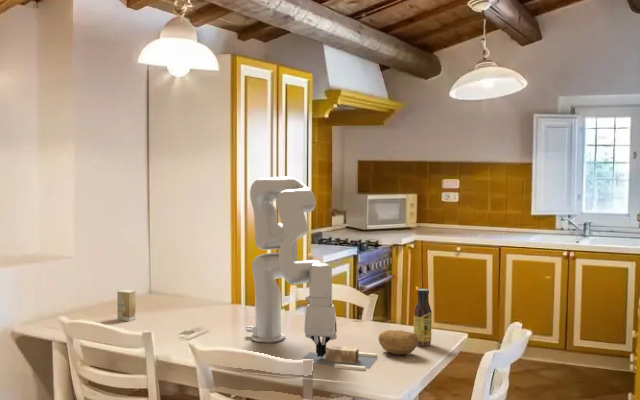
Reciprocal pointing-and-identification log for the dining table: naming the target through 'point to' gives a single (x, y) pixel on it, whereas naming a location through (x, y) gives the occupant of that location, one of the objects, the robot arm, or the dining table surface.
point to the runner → (359, 365)
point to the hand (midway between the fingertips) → (321, 355)
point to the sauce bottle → (423, 318)
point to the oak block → (342, 354)
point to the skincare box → (126, 305)
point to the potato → (398, 341)
